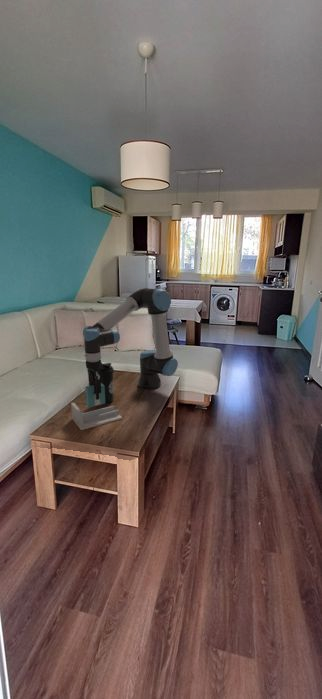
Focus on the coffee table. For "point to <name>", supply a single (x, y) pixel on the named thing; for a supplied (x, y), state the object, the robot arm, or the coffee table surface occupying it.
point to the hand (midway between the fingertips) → (95, 403)
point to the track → (94, 416)
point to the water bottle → (107, 381)
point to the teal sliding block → (90, 395)
